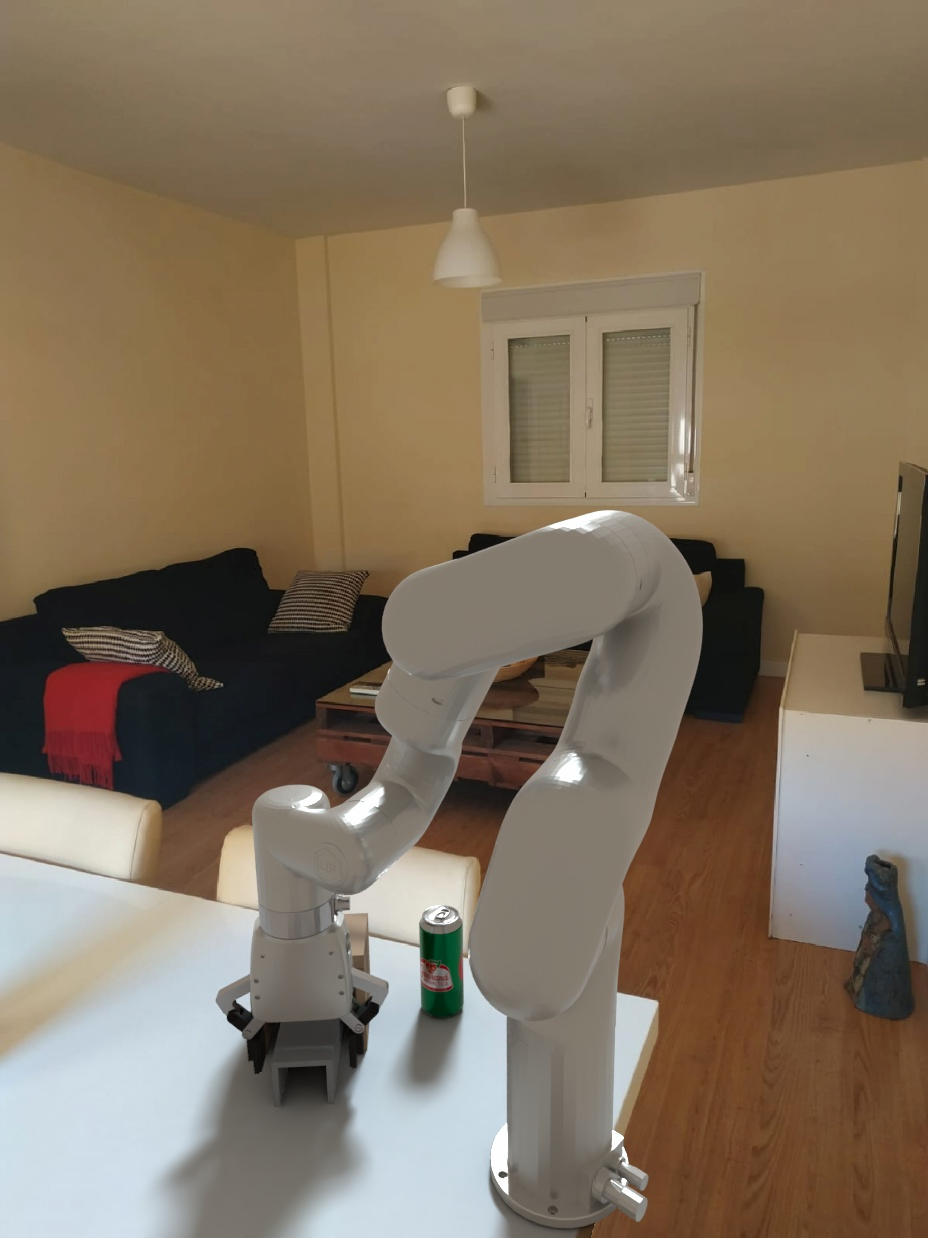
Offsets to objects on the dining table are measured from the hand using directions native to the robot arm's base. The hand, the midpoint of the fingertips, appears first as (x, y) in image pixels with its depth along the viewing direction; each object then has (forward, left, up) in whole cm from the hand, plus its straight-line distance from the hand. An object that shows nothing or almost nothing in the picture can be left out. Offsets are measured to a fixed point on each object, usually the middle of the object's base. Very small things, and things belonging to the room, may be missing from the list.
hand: (307, 1062), depth 89 cm
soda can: (-2, -18, -3) cm, 19 cm away
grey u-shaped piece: (+3, -3, -3) cm, 5 cm away
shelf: (+7, -6, -3) cm, 10 cm away
